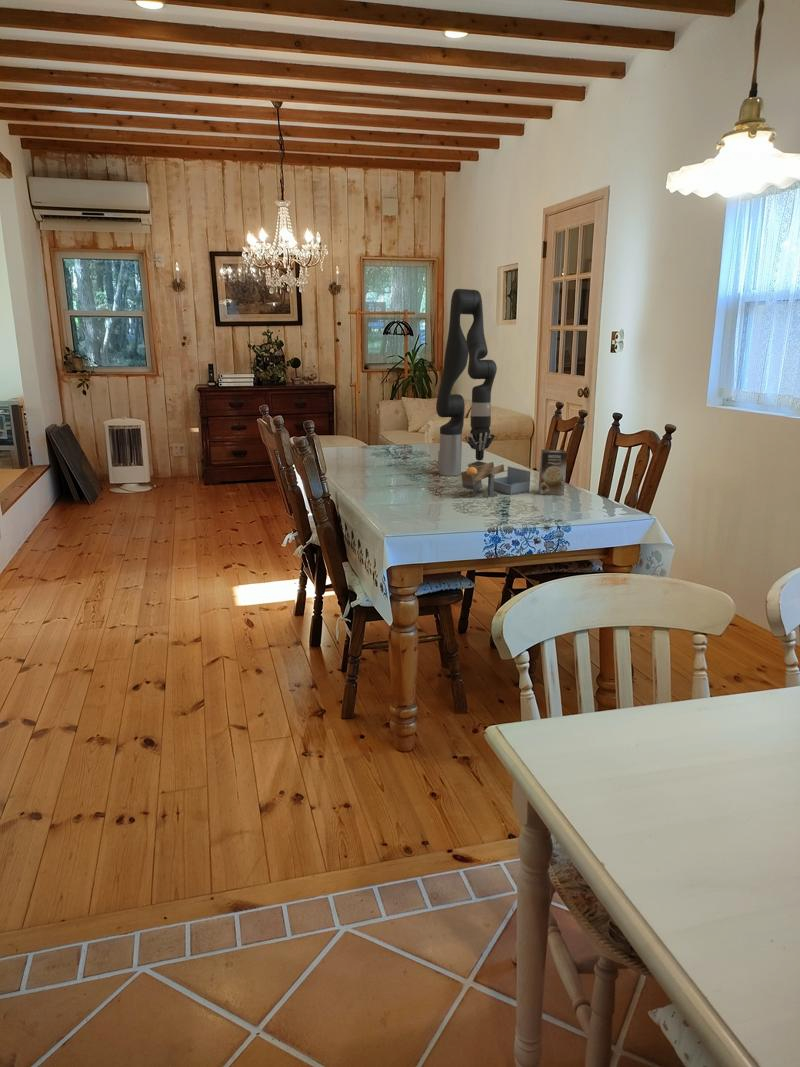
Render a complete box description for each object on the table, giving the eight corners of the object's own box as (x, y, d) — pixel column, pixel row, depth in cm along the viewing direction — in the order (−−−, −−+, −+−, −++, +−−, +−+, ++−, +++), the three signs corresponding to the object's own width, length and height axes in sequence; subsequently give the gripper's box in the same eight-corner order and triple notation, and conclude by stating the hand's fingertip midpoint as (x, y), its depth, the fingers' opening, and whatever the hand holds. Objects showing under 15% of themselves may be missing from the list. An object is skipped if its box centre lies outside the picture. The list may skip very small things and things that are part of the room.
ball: (464, 477, 273) (463, 467, 272) (472, 475, 275) (472, 465, 274) (471, 479, 270) (470, 468, 269) (479, 477, 272) (479, 466, 271)
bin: (510, 495, 277) (511, 473, 275) (489, 489, 287) (490, 468, 285) (529, 492, 282) (530, 471, 280) (508, 486, 292) (508, 466, 289)
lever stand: (487, 498, 272) (488, 474, 269) (469, 492, 280) (469, 470, 278) (497, 496, 274) (498, 473, 272) (479, 491, 283) (480, 468, 281)
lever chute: (473, 490, 270) (471, 475, 268) (448, 483, 282) (446, 468, 280) (505, 478, 277) (503, 464, 275) (479, 472, 290) (477, 458, 288)
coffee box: (539, 494, 277) (541, 452, 273) (538, 491, 283) (540, 449, 279) (564, 495, 276) (567, 452, 272) (562, 491, 283) (565, 449, 278)
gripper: (488, 412, 285) (486, 457, 290) (460, 414, 278) (459, 460, 283) (500, 414, 279) (499, 459, 284) (473, 416, 272) (471, 463, 277)
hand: (479, 460), depth 284 cm, fingers closed
